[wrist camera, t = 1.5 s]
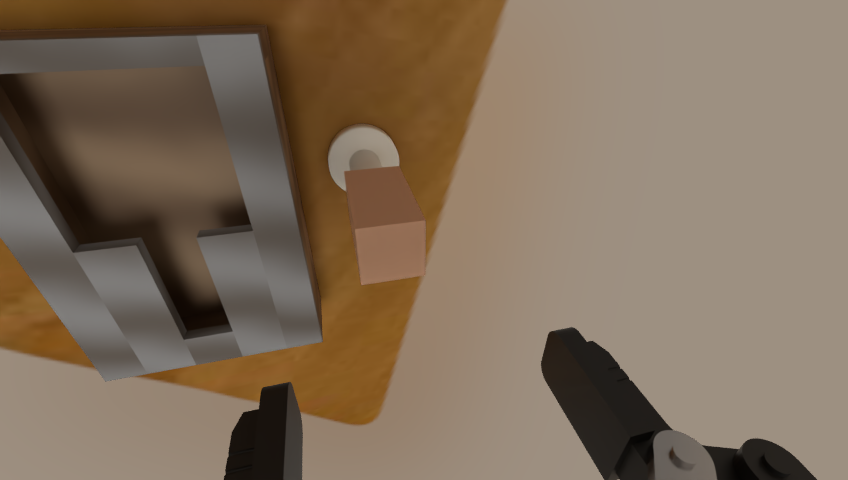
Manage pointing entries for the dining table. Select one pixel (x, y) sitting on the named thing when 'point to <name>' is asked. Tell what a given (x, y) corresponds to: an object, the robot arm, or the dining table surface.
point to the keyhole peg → (378, 205)
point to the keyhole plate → (155, 193)
